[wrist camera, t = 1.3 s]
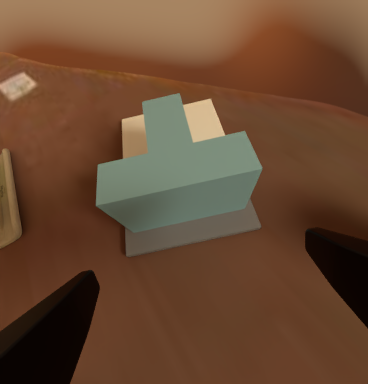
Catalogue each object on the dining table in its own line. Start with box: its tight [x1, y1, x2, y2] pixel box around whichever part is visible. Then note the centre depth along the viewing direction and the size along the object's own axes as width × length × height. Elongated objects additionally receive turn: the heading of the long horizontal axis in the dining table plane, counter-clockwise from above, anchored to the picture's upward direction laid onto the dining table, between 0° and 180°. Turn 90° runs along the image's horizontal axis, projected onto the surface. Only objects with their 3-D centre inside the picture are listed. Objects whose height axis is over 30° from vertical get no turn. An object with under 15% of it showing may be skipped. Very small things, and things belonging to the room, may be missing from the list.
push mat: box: [122, 99, 261, 257], centre depth 25 cm, size 22×15×1 cm
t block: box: [96, 93, 263, 233], centre depth 20 cm, size 11×13×8 cm
